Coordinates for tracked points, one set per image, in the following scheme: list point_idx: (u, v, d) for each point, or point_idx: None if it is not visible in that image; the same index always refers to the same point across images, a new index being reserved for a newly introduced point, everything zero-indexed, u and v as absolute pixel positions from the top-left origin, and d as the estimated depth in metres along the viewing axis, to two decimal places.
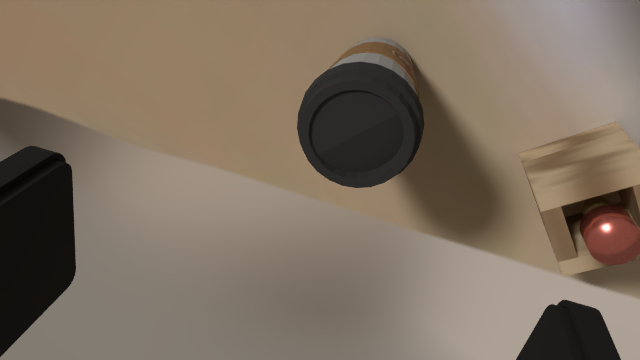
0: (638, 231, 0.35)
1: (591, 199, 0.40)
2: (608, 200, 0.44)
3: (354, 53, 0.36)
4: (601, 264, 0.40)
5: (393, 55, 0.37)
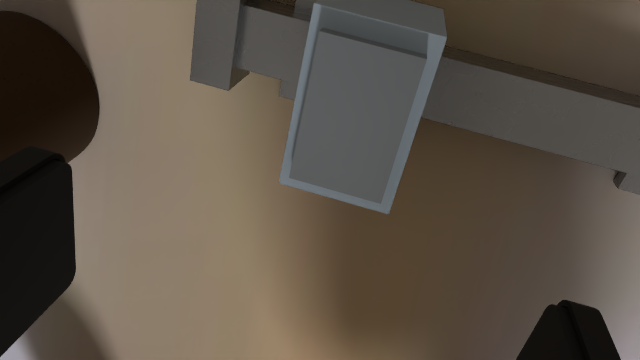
0: None
1: None
2: None
3: None
4: None
5: None
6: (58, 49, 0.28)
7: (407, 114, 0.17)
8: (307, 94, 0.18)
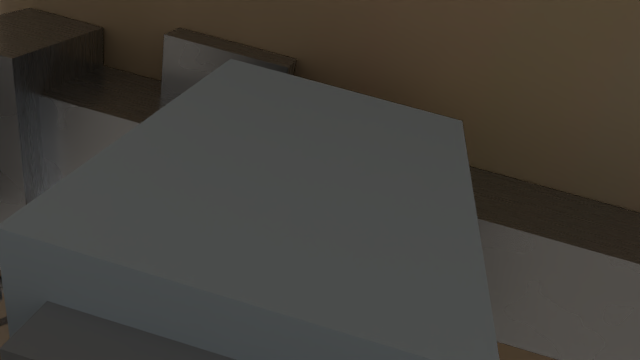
0: None
1: None
2: None
3: None
4: None
5: None
6: None
7: None
8: None
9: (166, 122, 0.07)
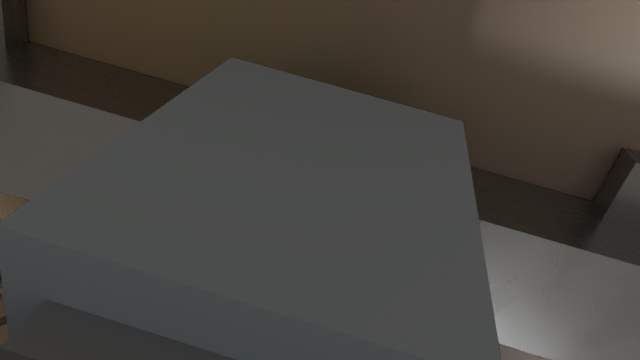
0: None
1: None
2: None
3: None
4: None
5: None
6: None
7: None
8: None
9: (167, 120, 0.07)
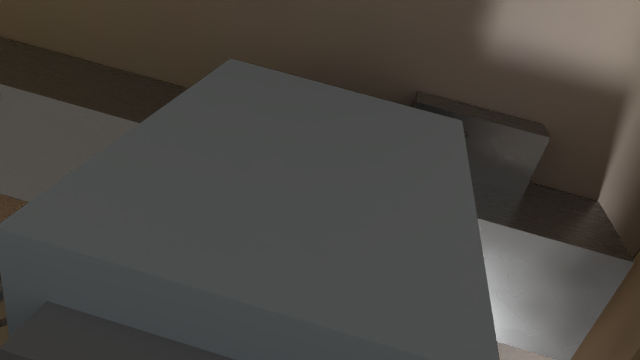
0: None
1: None
2: None
3: None
4: None
5: None
6: None
7: None
8: None
9: (166, 122, 0.07)
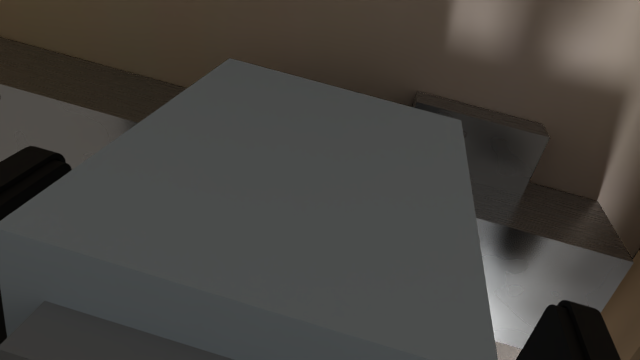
0: None
1: None
2: None
3: None
4: None
5: None
6: None
7: None
8: None
9: (164, 122, 0.07)
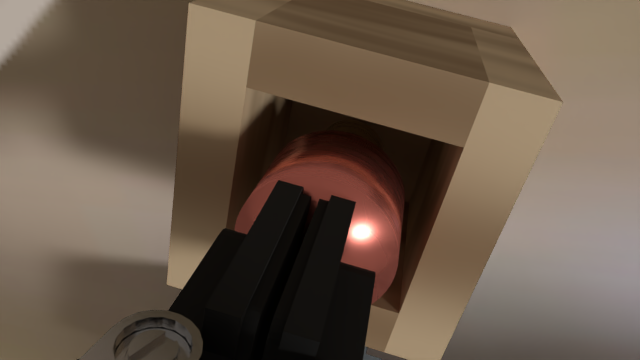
0: None
1: None
2: None
3: None
4: (190, 132, 0.12)
5: None
6: None
7: None
8: None
9: None
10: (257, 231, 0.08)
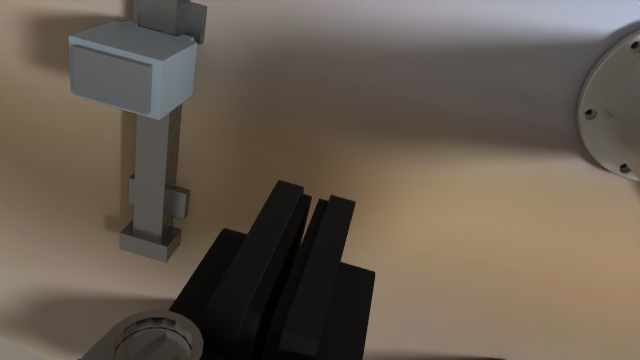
0: None
1: None
2: None
3: None
4: None
5: None
6: None
7: (99, 54, 0.35)
8: (102, 101, 0.37)
9: None
10: (257, 231, 0.08)
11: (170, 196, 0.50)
